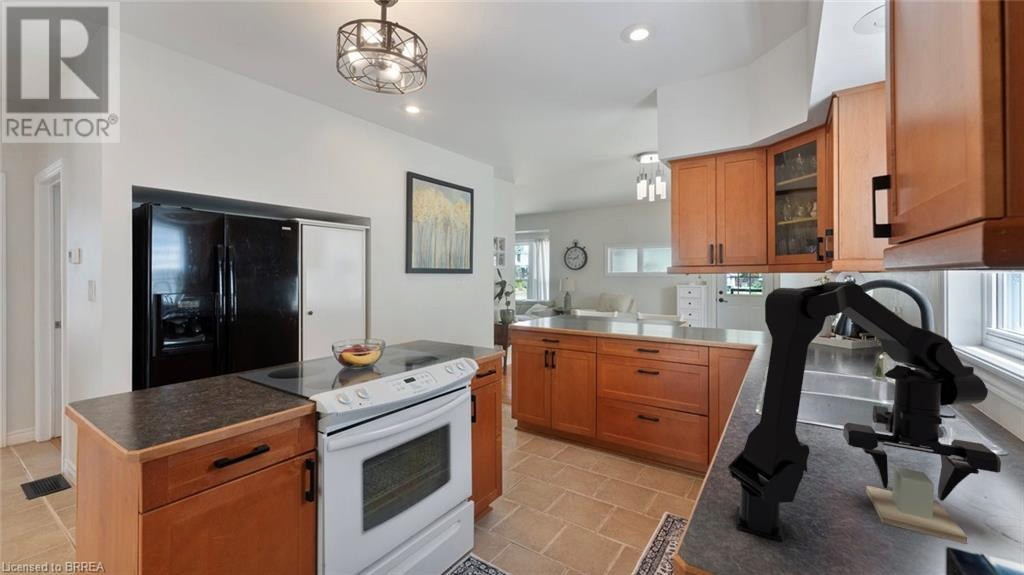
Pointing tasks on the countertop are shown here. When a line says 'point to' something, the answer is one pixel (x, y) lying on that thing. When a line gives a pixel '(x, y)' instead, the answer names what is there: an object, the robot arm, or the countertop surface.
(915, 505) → the block
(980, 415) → the countertop surface
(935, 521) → the board
